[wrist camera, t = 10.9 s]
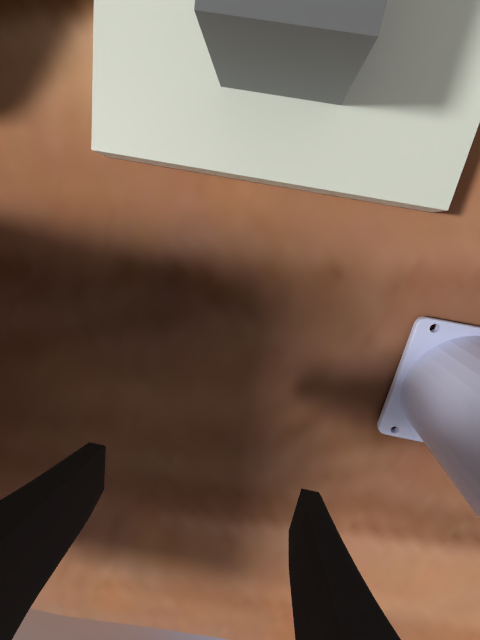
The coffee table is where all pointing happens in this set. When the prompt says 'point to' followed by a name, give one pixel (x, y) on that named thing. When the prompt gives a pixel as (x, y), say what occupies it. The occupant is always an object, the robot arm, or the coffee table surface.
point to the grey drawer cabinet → (290, 44)
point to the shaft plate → (294, 106)
